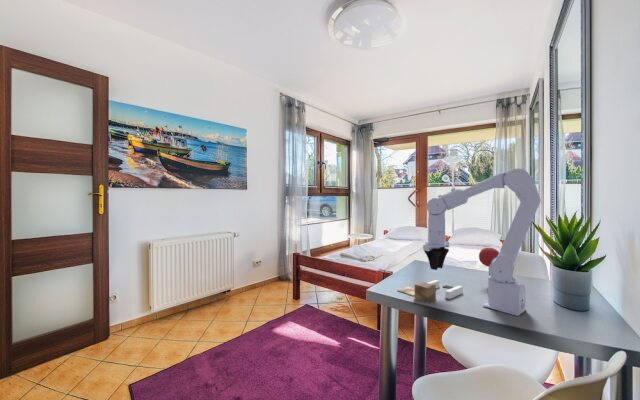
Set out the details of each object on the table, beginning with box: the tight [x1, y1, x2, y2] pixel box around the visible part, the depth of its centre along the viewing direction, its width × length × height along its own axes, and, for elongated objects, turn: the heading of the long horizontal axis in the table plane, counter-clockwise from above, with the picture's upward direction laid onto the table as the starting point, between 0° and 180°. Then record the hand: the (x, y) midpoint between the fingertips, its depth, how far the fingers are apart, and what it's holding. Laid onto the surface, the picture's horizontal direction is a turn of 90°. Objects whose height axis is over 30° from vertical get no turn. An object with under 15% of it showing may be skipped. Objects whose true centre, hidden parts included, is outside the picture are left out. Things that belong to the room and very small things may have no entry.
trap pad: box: [442, 284, 455, 290], centre depth 104 cm, size 6×3×1 cm, turn 38°
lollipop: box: [478, 247, 500, 276], centre depth 110 cm, size 8×8×15 cm
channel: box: [427, 279, 464, 300], centre depth 100 cm, size 10×10×2 cm
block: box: [414, 281, 437, 304], centre depth 93 cm, size 5×5×5 cm
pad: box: [396, 286, 415, 297], centre depth 100 cm, size 7×7×1 cm
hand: (436, 268), depth 97 cm, fingers open, 3 cm apart
